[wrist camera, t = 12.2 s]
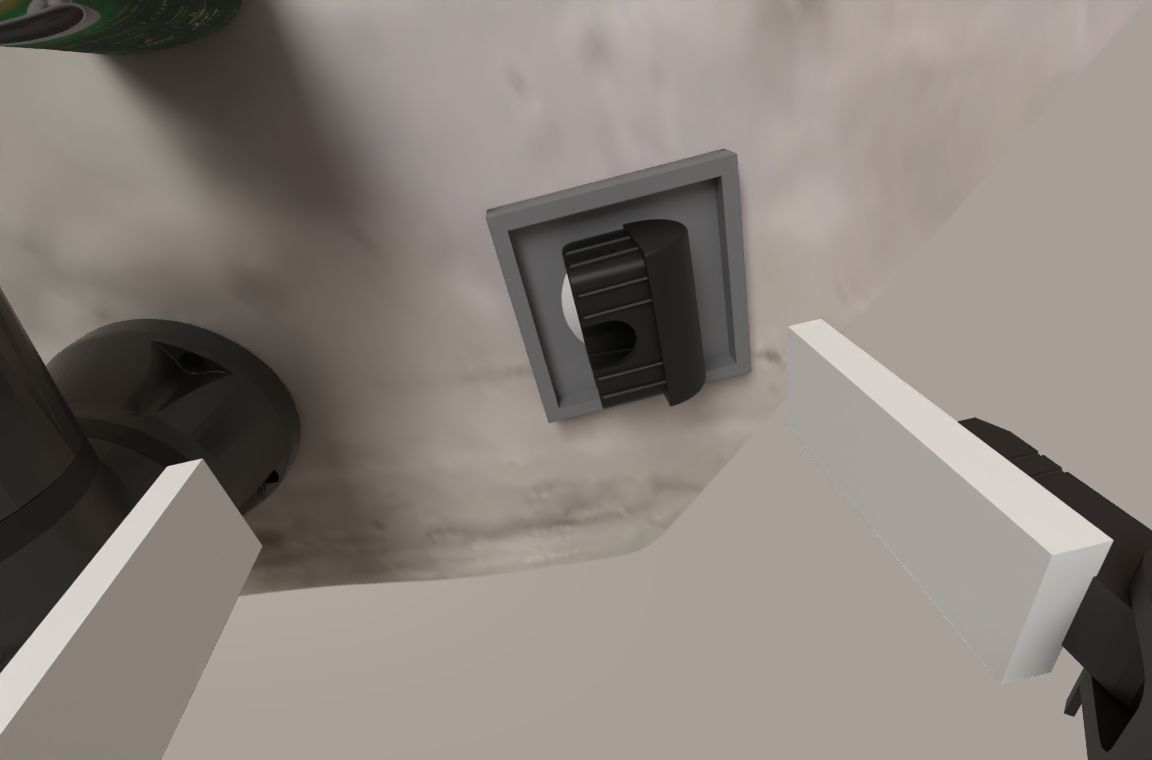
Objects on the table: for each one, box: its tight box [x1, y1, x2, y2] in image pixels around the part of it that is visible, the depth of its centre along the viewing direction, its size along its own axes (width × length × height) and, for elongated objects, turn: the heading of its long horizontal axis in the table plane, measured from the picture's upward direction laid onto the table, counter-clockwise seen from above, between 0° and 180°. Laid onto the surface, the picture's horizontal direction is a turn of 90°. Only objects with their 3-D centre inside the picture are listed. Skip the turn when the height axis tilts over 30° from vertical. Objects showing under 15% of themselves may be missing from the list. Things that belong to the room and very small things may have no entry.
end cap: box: [562, 219, 706, 409], centre depth 34 cm, size 10×7×7 cm
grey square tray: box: [486, 149, 751, 423], centre depth 36 cm, size 15×15×2 cm
